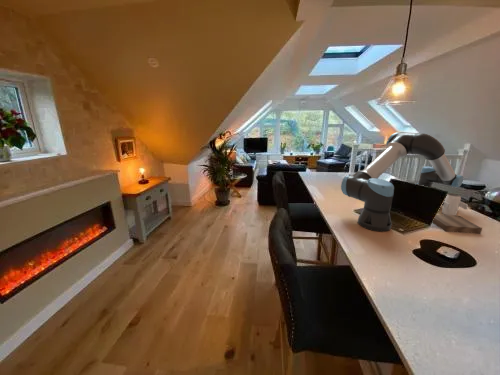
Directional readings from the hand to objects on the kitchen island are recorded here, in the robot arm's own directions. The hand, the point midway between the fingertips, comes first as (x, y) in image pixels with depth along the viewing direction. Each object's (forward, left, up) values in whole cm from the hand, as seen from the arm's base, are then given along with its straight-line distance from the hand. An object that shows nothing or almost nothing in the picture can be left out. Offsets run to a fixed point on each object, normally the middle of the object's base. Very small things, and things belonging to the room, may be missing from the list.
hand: (457, 206), depth 124 cm
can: (0, +5, -7) cm, 8 cm away
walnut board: (-9, -12, -7) cm, 16 cm away
